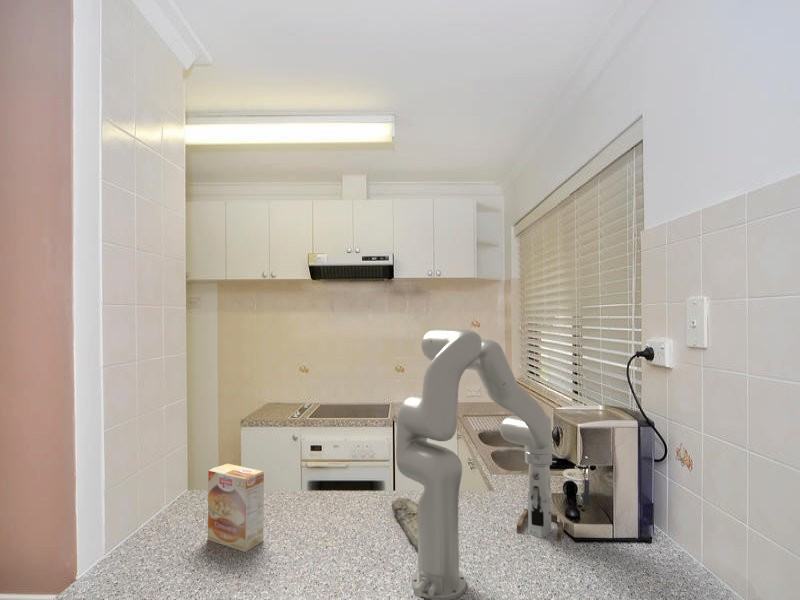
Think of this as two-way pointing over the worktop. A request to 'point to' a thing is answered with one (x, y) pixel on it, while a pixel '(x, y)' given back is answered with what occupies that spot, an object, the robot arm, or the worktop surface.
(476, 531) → the worktop surface
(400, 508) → the long grey stone
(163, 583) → the worktop surface
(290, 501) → the worktop surface
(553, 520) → the lane rack
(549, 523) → the skincare box
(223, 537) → the coffeecake box
